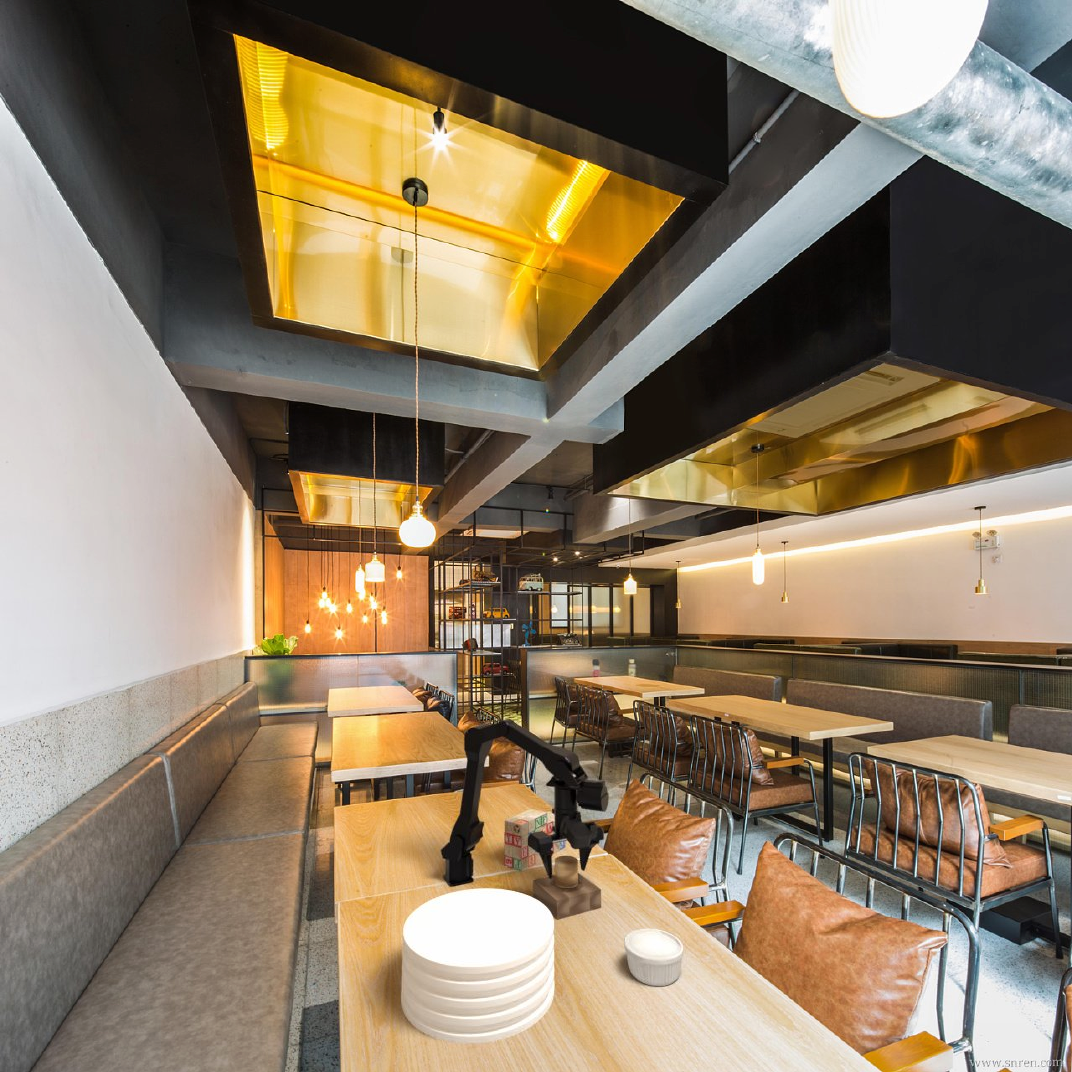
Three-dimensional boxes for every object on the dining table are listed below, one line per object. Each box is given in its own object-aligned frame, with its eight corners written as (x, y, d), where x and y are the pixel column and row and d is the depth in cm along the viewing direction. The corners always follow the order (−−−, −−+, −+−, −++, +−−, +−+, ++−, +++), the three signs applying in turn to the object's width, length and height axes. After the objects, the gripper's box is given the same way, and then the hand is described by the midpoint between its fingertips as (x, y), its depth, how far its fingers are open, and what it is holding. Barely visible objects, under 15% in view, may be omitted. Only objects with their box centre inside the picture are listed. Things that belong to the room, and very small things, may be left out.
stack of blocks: (549, 843, 177) (548, 800, 178) (565, 847, 173) (565, 804, 175) (503, 866, 160) (504, 819, 162) (521, 872, 156) (521, 824, 158)
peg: (562, 908, 135) (561, 866, 136) (550, 897, 140) (550, 858, 141) (582, 902, 138) (582, 862, 139) (570, 892, 143) (570, 853, 144)
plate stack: (478, 932, 126) (479, 876, 127) (584, 982, 108) (583, 916, 110) (369, 997, 104) (371, 928, 106) (478, 1072, 87) (479, 988, 89)
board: (557, 919, 131) (556, 900, 131) (533, 897, 141) (533, 879, 142) (601, 907, 136) (600, 889, 137) (575, 887, 147) (574, 870, 147)
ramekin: (696, 976, 110) (695, 946, 111) (655, 998, 103) (654, 966, 104) (653, 950, 119) (652, 922, 120) (613, 968, 112) (612, 939, 113)
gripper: (548, 822, 131) (548, 896, 128) (616, 809, 139) (617, 879, 137) (526, 808, 141) (526, 877, 138) (591, 797, 149) (592, 862, 147)
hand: (566, 874), depth 140 cm, fingers open, 9 cm apart
